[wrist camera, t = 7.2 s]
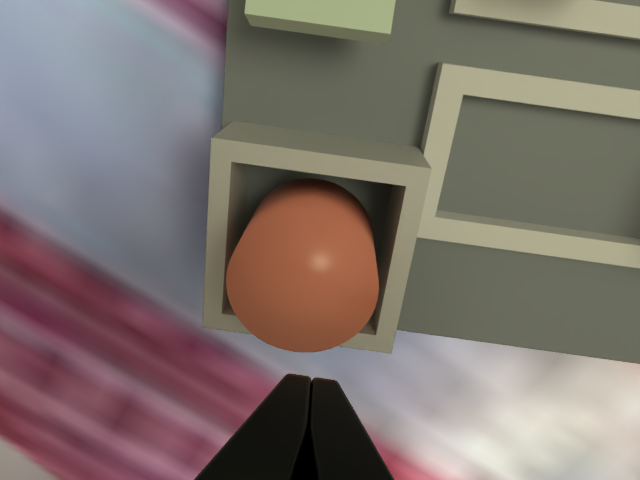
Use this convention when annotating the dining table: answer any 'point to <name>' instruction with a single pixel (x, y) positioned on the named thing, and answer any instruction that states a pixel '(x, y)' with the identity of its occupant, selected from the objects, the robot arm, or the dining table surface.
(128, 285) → the dining table surface
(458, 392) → the dining table surface
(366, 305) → the red button
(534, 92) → the panel
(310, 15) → the green rocker
